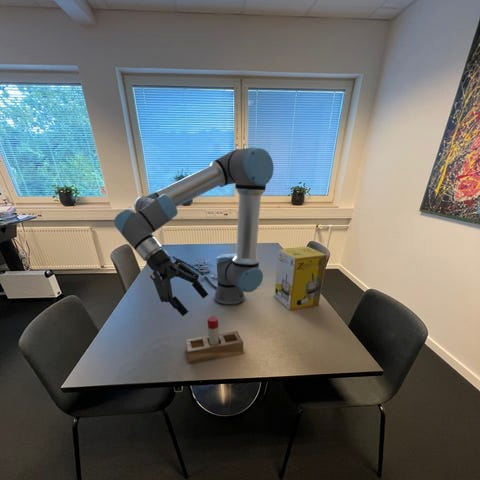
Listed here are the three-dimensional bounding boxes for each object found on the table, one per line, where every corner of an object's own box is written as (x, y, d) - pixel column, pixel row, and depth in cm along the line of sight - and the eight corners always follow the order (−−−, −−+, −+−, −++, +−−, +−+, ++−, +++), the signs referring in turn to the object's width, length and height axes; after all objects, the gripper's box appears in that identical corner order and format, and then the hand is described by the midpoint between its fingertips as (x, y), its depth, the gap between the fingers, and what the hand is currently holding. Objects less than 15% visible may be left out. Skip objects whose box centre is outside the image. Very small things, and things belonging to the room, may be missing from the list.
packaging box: (318, 305, 128) (327, 255, 115) (289, 310, 123) (295, 258, 110) (301, 292, 141) (307, 246, 128) (274, 296, 136) (278, 249, 123)
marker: (209, 349, 96) (206, 317, 88) (218, 348, 96) (216, 315, 89) (210, 355, 93) (208, 322, 86) (220, 353, 94) (218, 320, 86)
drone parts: (226, 261, 189) (226, 257, 187) (235, 279, 160) (235, 274, 158) (194, 262, 184) (194, 258, 183) (197, 280, 155) (197, 275, 153)
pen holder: (186, 350, 95) (185, 339, 93) (237, 341, 100) (237, 330, 98) (189, 363, 89) (187, 351, 86) (243, 353, 94) (243, 341, 91)
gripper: (132, 260, 73) (182, 317, 76) (181, 238, 92) (219, 285, 96) (121, 274, 77) (169, 327, 81) (170, 251, 97) (207, 295, 100)
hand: (196, 304), depth 88 cm, fingers open, 13 cm apart
